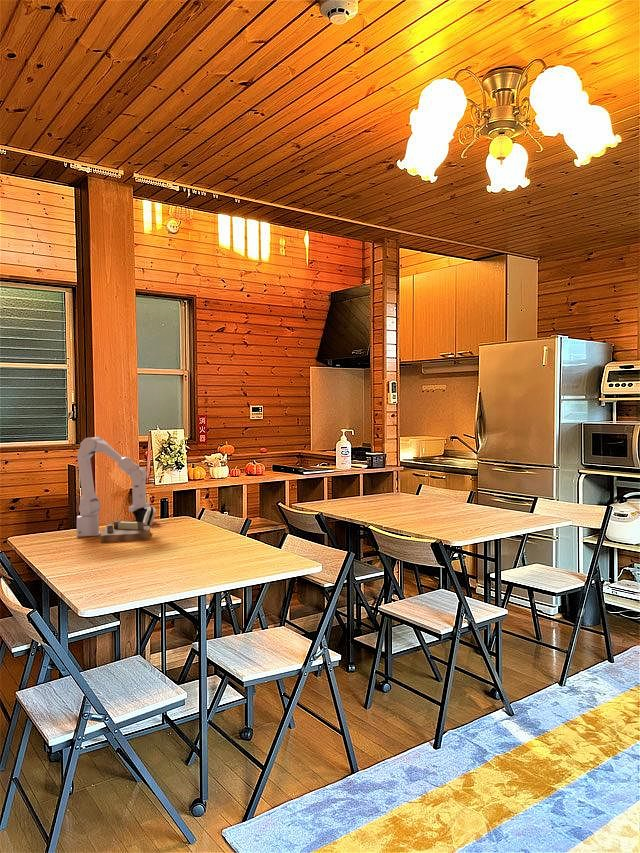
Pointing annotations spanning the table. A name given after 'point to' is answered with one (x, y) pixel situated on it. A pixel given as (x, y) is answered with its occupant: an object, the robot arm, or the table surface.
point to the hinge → (149, 515)
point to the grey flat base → (124, 534)
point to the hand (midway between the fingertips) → (139, 525)
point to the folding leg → (128, 525)
